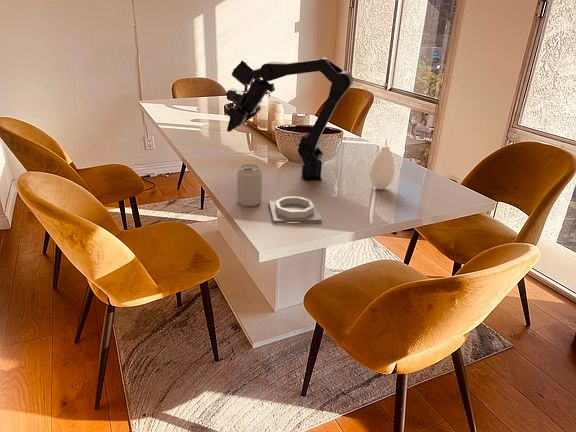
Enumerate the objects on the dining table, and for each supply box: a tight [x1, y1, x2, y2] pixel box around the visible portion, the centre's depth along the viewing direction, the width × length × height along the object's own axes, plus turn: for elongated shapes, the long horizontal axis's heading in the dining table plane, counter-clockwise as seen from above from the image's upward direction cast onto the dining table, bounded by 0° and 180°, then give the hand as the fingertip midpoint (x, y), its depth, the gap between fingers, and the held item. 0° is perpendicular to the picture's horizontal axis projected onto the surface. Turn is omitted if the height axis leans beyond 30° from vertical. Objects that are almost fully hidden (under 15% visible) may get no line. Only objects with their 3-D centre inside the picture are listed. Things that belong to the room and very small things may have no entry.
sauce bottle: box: [369, 138, 395, 190], centre depth 152 cm, size 8×8×18 cm
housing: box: [268, 196, 322, 224], centre depth 135 cm, size 14×14×3 cm
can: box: [236, 163, 263, 207], centre depth 138 cm, size 8×8×12 cm
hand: (232, 128), depth 164 cm, fingers open, 9 cm apart
